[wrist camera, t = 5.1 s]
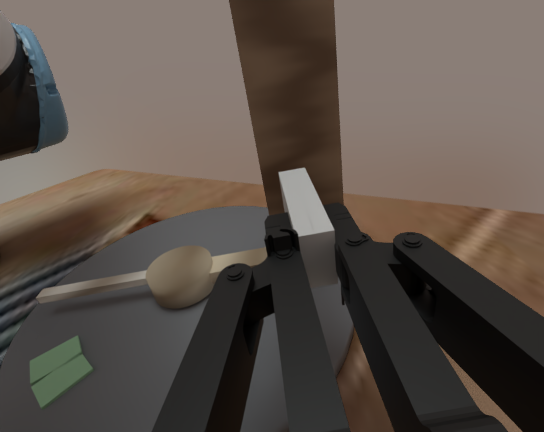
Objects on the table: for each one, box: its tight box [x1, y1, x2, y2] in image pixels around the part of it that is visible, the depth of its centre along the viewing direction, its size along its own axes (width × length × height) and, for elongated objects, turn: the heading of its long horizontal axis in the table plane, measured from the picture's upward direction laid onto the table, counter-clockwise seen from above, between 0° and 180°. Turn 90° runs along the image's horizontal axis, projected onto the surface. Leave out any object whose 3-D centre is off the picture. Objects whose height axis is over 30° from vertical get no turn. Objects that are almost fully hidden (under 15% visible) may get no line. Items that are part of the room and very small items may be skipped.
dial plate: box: [0, 206, 354, 432], centre depth 26 cm, size 26×26×2 cm
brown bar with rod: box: [36, 0, 344, 309], centre depth 21 cm, size 24×5×18 cm, turn 95°
